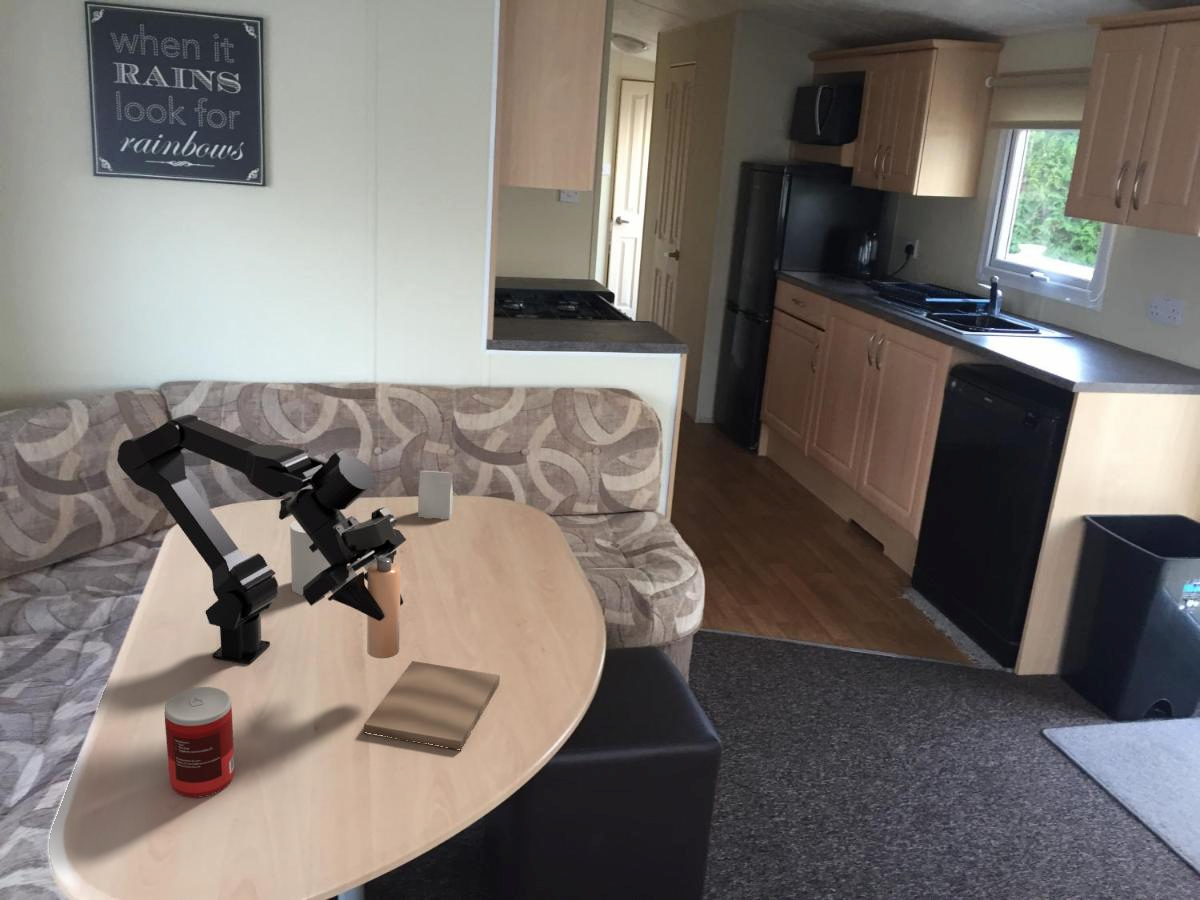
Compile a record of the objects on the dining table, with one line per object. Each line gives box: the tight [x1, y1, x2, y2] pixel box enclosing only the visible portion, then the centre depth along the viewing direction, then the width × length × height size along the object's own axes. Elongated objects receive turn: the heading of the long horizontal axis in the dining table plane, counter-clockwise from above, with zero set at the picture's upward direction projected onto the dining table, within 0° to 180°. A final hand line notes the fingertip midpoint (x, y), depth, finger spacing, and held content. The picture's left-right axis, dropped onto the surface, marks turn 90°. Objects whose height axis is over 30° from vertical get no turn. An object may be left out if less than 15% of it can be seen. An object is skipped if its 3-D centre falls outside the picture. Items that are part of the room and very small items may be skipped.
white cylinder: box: [289, 519, 333, 596], centre depth 177 cm, size 8×8×12 cm
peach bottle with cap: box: [366, 557, 402, 659], centre depth 143 cm, size 5×5×14 cm
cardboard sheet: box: [363, 660, 501, 751], centre depth 144 cm, size 18×14×2 cm
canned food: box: [164, 686, 235, 798], centre depth 124 cm, size 8×8×11 cm
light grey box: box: [417, 470, 454, 520], centre depth 214 cm, size 4×7×10 cm, turn 90°
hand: (391, 612), depth 143 cm, fingers closed on peach bottle with cap, 5 cm apart
